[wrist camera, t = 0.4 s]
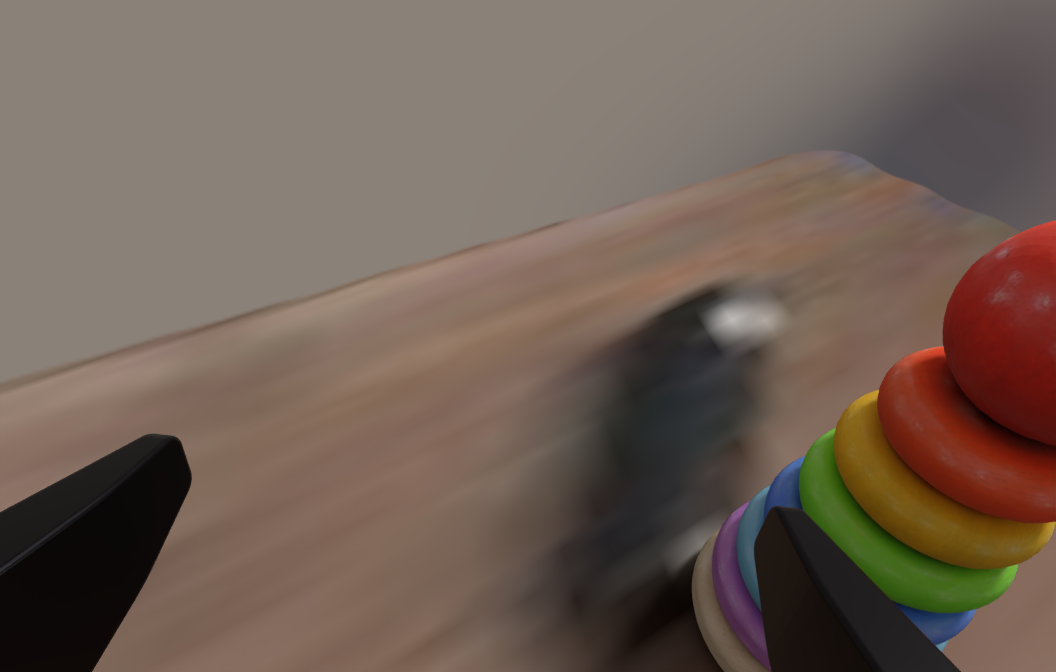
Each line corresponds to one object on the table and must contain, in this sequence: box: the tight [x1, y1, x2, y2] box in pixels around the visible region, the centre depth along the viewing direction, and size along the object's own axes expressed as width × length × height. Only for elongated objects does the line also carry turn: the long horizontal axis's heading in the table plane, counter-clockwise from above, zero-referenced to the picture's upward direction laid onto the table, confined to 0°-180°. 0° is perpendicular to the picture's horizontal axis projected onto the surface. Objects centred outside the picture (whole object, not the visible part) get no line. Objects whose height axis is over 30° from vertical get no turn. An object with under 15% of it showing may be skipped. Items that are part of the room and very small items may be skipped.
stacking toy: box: [692, 221, 1056, 672], centre depth 17 cm, size 8×8×19 cm
